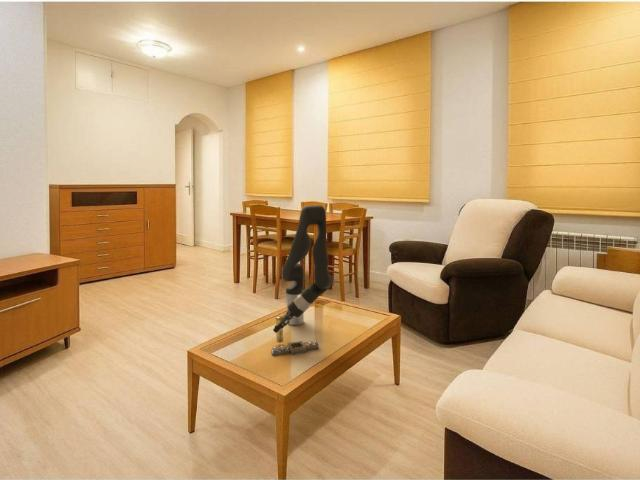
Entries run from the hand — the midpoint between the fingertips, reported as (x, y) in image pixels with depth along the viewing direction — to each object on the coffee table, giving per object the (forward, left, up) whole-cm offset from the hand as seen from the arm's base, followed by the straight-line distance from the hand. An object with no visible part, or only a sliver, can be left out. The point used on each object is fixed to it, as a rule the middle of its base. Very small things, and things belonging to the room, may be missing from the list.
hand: (275, 329), depth 184 cm
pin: (+1, +2, -6) cm, 6 cm away
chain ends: (+10, +8, -7) cm, 15 cm away
